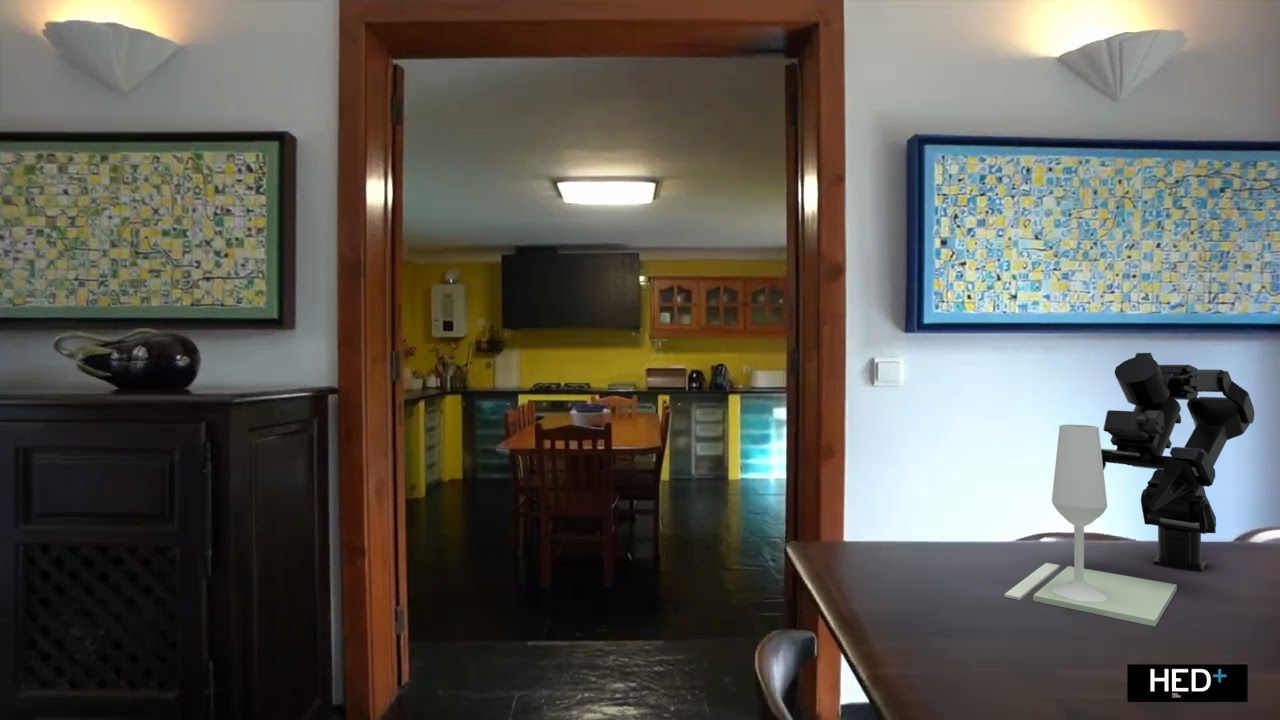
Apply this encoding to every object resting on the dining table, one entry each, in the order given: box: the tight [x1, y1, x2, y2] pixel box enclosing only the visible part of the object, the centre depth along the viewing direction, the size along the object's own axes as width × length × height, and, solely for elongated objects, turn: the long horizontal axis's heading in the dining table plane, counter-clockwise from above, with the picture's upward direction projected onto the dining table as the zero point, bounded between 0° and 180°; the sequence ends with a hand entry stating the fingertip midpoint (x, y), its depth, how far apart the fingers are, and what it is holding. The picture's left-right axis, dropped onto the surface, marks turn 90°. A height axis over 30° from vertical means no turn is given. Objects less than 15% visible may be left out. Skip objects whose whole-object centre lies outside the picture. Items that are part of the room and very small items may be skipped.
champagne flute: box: [1051, 424, 1108, 602], centre depth 99 cm, size 7×7×24 cm
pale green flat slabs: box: [1003, 562, 1178, 628], centre depth 102 cm, size 22×18×1 cm
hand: (1117, 503), depth 104 cm, fingers open, 9 cm apart
